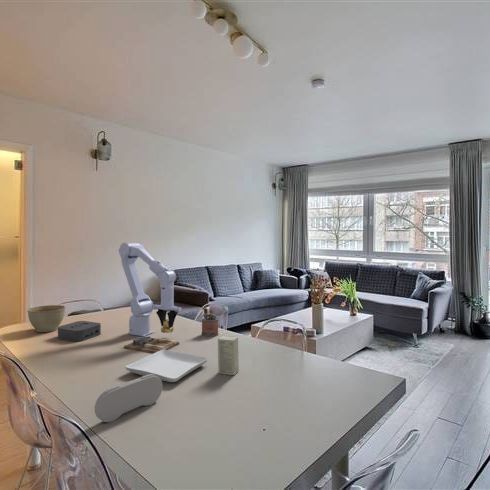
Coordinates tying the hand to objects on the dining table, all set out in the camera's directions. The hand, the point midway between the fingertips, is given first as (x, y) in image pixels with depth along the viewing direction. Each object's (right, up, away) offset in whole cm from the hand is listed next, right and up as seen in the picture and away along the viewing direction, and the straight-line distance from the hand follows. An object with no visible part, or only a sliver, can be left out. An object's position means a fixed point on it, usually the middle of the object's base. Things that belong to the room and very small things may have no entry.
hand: (167, 326), depth 163 cm
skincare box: (+30, -7, -39) cm, 50 cm away
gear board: (-4, -6, -11) cm, 13 cm away
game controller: (+5, -8, -66) cm, 67 cm away
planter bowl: (-61, -5, +12) cm, 63 cm away
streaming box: (-41, -5, +2) cm, 41 cm away
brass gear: (0, -2, 0) cm, 2 cm away
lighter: (+19, -6, +6) cm, 21 cm away
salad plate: (+9, -7, -37) cm, 39 cm away
